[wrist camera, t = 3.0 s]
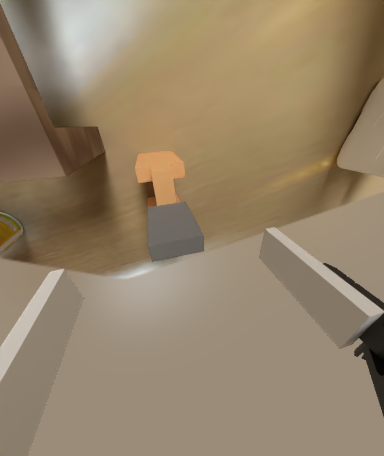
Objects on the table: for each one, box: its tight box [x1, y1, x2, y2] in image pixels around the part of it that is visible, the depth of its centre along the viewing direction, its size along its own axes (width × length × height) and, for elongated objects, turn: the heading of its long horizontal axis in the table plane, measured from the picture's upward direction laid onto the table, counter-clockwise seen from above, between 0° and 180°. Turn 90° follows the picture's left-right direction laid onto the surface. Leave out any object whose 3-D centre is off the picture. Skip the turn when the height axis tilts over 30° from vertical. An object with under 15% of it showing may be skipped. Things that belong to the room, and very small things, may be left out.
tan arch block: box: [135, 151, 204, 262], centre depth 20 cm, size 8×5×18 cm, turn 3°
